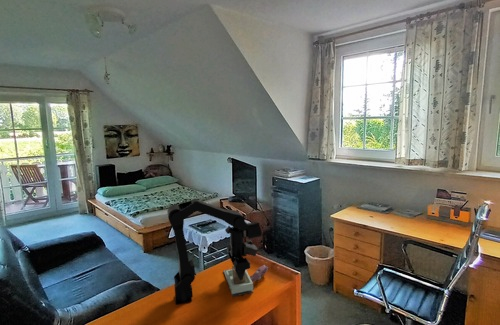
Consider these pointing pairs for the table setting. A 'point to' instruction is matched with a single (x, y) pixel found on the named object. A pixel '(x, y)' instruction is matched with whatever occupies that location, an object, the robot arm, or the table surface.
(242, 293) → the track
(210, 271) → the table surface
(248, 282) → the pale green tray
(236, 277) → the walnut block
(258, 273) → the sweet potato
